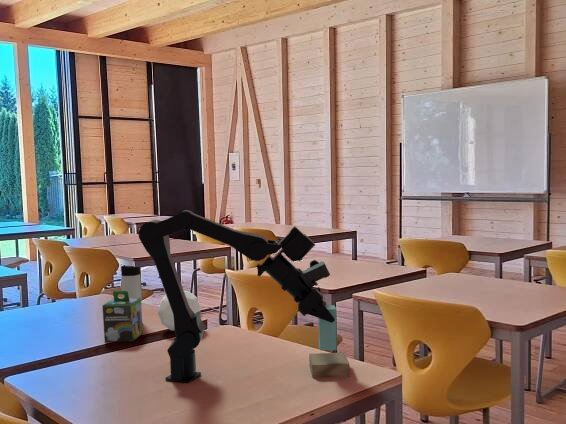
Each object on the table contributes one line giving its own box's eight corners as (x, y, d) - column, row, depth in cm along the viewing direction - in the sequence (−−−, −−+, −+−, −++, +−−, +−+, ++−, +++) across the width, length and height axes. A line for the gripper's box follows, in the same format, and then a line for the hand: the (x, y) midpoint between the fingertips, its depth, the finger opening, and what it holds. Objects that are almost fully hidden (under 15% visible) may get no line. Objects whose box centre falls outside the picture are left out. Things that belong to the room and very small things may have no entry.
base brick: (312, 379, 141) (312, 365, 141) (309, 367, 150) (309, 353, 150) (349, 378, 142) (349, 363, 142) (344, 365, 151) (344, 352, 151)
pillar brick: (320, 350, 141) (319, 309, 141) (318, 345, 145) (318, 305, 145) (336, 350, 142) (335, 309, 141) (334, 345, 146) (334, 305, 145)
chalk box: (143, 333, 185) (141, 287, 184) (133, 342, 176) (131, 293, 175) (114, 333, 186) (112, 287, 185) (103, 342, 177) (101, 293, 176)
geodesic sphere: (169, 322, 175) (188, 281, 181) (139, 316, 184) (158, 277, 190) (197, 342, 185) (215, 302, 191) (168, 335, 193) (185, 298, 199)
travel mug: (118, 325, 196) (115, 265, 195) (132, 320, 202) (129, 262, 201) (132, 327, 193) (130, 266, 192) (146, 322, 199) (143, 263, 198)
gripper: (312, 256, 133) (361, 303, 133) (307, 246, 151) (350, 287, 152) (277, 291, 133) (327, 338, 134) (277, 277, 152) (320, 318, 152)
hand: (332, 319), depth 143 cm, fingers closed on pillar brick, 4 cm apart
